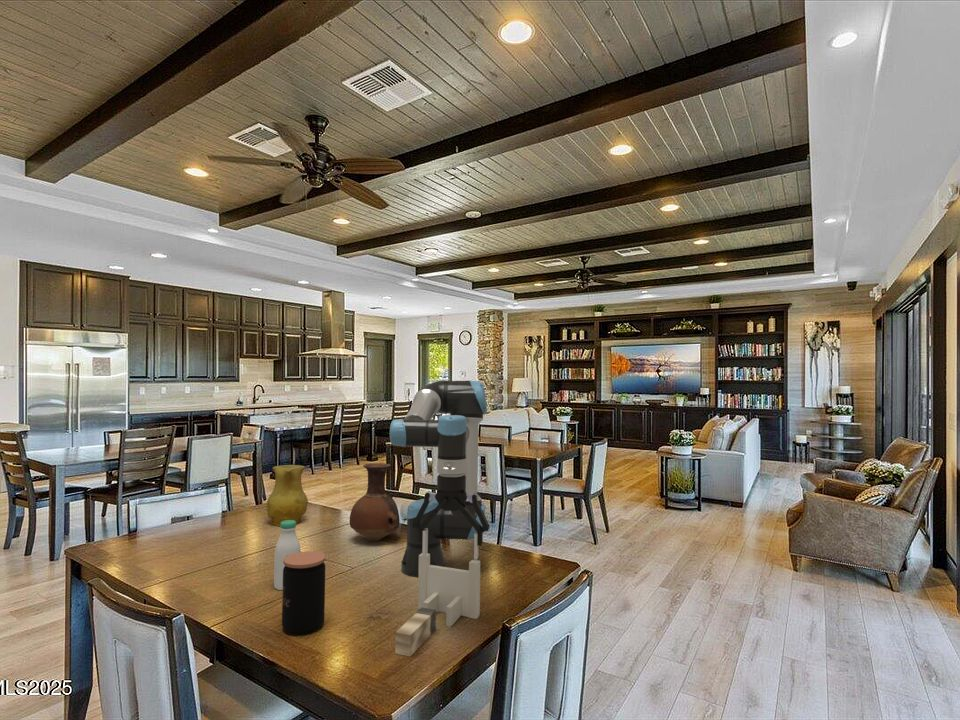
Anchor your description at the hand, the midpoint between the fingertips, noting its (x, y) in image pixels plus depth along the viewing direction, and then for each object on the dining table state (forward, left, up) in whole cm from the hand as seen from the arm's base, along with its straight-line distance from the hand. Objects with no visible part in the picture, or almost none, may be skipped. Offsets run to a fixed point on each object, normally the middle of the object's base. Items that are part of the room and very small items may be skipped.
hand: (450, 556), depth 140 cm
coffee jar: (-37, -12, -19) cm, 43 cm away
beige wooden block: (-6, -8, -19) cm, 22 cm away
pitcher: (-107, +66, -19) cm, 127 cm away
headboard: (-5, +7, -19) cm, 21 cm away
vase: (-58, +58, -19) cm, 84 cm away
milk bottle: (-59, +8, -19) cm, 62 cm away
